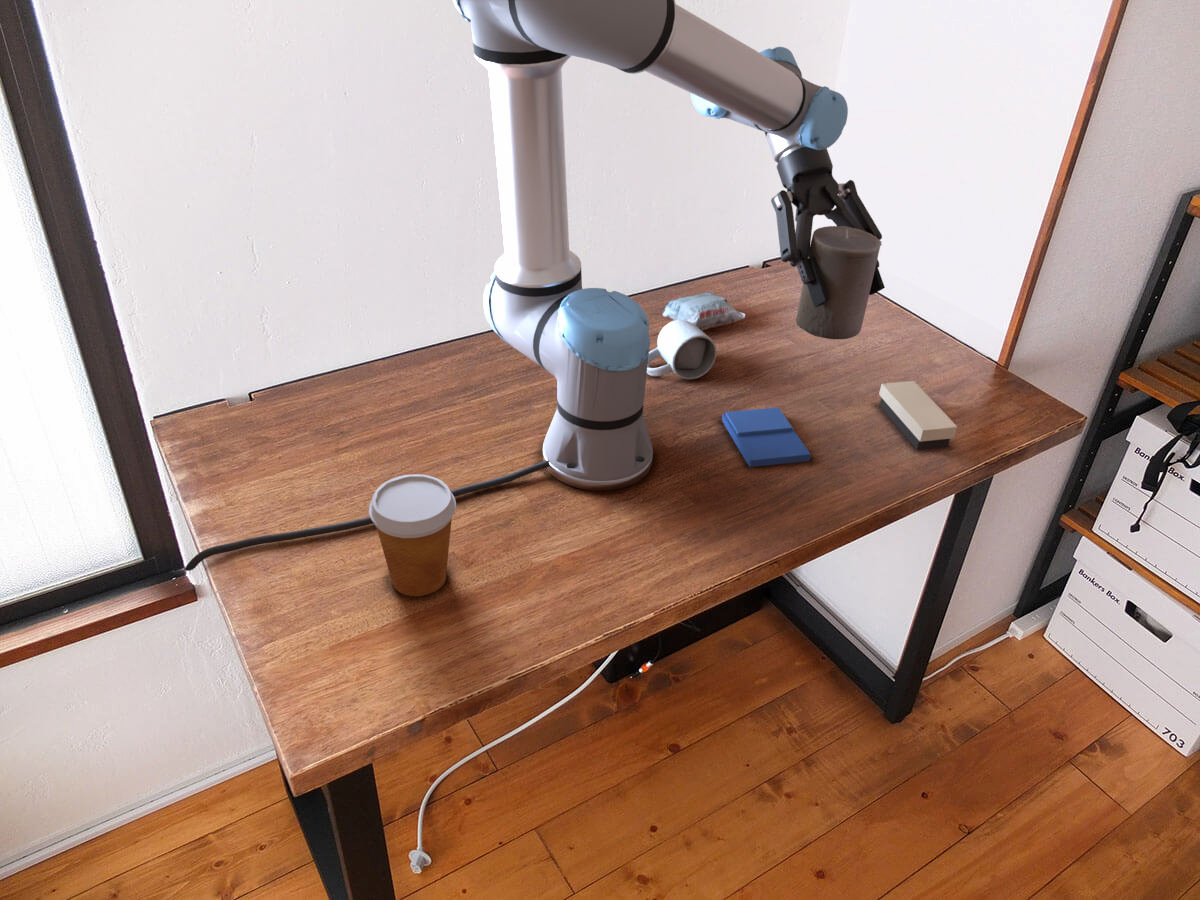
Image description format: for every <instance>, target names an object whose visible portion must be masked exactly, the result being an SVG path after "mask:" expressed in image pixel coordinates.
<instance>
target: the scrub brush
mask: <svg viewBox="0 0 1200 900" xmlns="http://www.w3.org/2000/svg"><path fill="white" fill-rule="evenodd" d="M878 395H879V397H880V401H879V405H878V406H879V407H880V409H881V410H882V411H883V412H884V413H885V414H886V416H887V417H888V418H889V419H890V420H891V422H892V423H893V424H894V425H895V426H896V428H898V430H899V431H900V432H901V434H903V436H904V437H905V438H906V439H907V440H908V441H909V443H910V444H911V445H912V447H914V448H915V450H917V451H918V450H929V449H939V448H947V447H949V444H950V441H951V439H955V436H956V433H957V430H958V426H957V425H956V423H954V422H953V420H952V419H951V418H950V417H949V416H948V415H947V413H945V412H944V411H943V410H942V409H941V408H940V407H939V406H938V404H937V403H935V401H934V400H933V399H932V398H931V397H930V396H929V395H928V394H927V393H926V391H925V390H923V389H922V388H921V387H920V385H918V384H917V382H915V381H914V380H910V381H907V380H906V381H896V382H884V383H881V384H880V388H879V393H878Z"/></svg>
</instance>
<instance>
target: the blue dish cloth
mask: <svg viewBox="0 0 1200 900" xmlns="http://www.w3.org/2000/svg"><path fill="white" fill-rule="evenodd" d="M721 421H722V423H723V425H724V427H725V429H726V430H727V432H728V433H729V435H730V437H731V438H732V440H733V442H734V443H735V445H736V447H737V448H738V450H739V452H740V454H741V455H742V457H743V459H744V461H745V462H746V463H747V465H748V468H755V467H763V466H774V465H783V464H784V465H785V464H793V463H803V462H804V463H805V462H810V459H811V456H812V455H811V453H810V451H809V449H808V448H807V447H806V445H805V444H804V442H803V441H802V440H801V438H800V437H799V435H798V433H797V432H796V431H795V430H794V428H793V426H792V425H791V423H790V422H789V420H788V419H787V417H786V416H785V414H784V413H783V411H782V410H781V409H780V407H778V406H777V407H767V408H753V409H743V410H735V411H734V410H731V411H725V413H722V416H721Z"/></svg>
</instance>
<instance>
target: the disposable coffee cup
mask: <svg viewBox="0 0 1200 900" xmlns="http://www.w3.org/2000/svg"><path fill="white" fill-rule="evenodd" d="M450 491H451V490H450V487H449V485H447V484H446V483H445V482H444V481H443V480H441V479H439V478H437V477H435V476H432V475H428V474H421V473H415V474H404V475H399V476H395V477H393V478H390V479H389V480H387V481H385V482H383V483H382V484H380V485H379V486H378V487H377V489H375V491H374V493H373V495H372V499H371V501H370V502H369V505H368V515H369V517H370V518H371V520H372V521H373V522H374V523H373V524H374V526H375V528H376V531H377V535H378V537H379V541H380V545H381V549H382V552H383V555H384V559H385V563H386V566H387V569H388V573H389V576H390V580H391V585H392V586H393V588H394V589H395V590H396V591H397V592H399V593H401V594H402V595H404V596H409V597H422V596H427V595H430V594H433V593H435V592H437V591H438V590H439V589H441V587H442V586H443V585H444V584H445V582H446V579H447V571H448V561H449V551H450V542H451V532H452V531H451V529H452V521H453V517H454V514H455V512H456V509H457V502H456V497H454V496H453V494H452V493H451V492H450Z"/></svg>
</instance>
